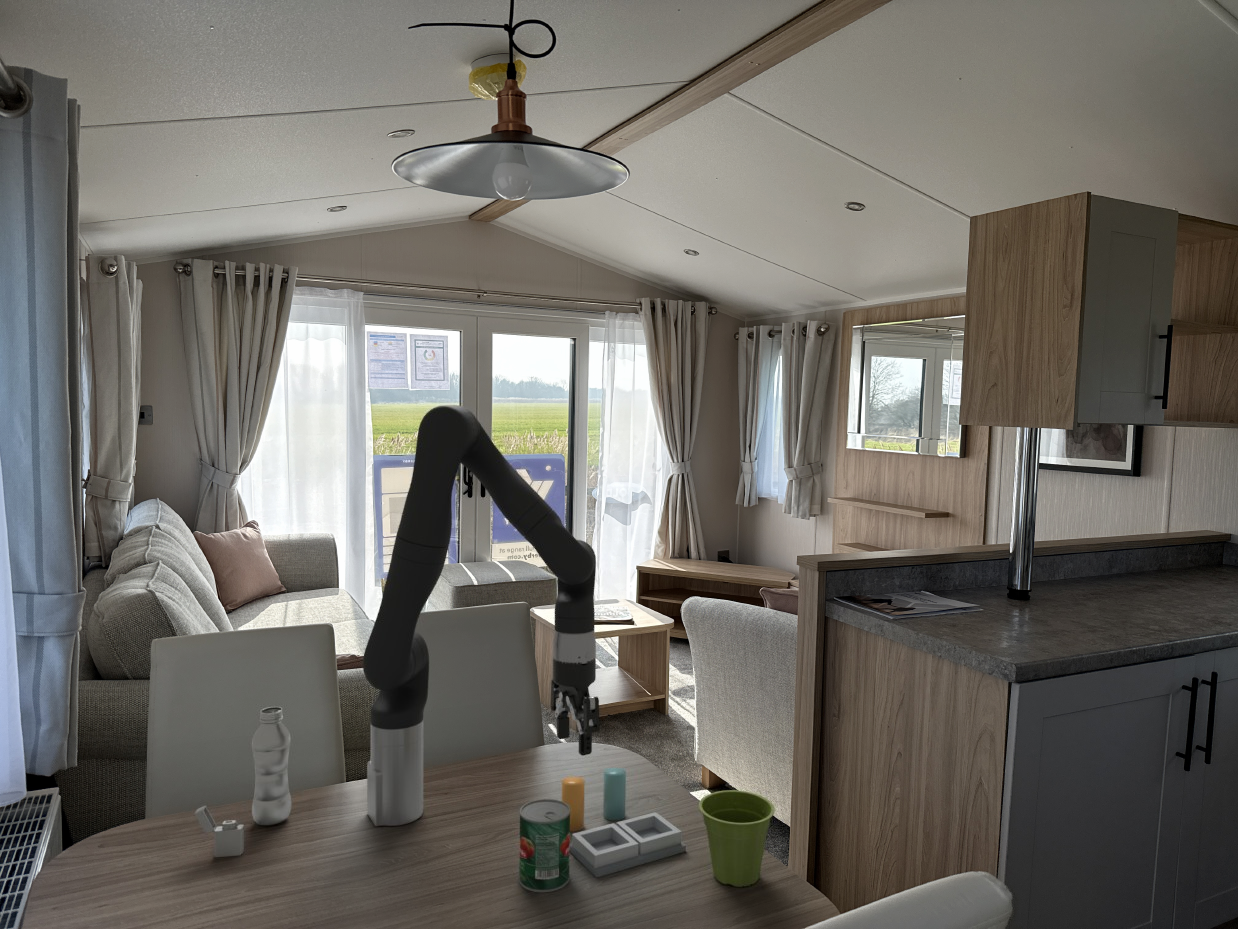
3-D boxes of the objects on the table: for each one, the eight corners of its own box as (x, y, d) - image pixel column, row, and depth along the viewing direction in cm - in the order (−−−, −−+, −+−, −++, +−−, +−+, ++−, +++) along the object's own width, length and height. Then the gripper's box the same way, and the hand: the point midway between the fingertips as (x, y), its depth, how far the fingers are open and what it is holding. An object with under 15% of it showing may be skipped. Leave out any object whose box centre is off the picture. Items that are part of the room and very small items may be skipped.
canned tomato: (509, 876, 130) (510, 807, 130) (551, 860, 135) (552, 794, 134) (536, 899, 124) (536, 826, 123) (579, 882, 129) (580, 812, 128)
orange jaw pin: (567, 833, 144) (568, 788, 144) (557, 823, 148) (558, 779, 147) (588, 828, 146) (588, 783, 146) (577, 818, 150) (578, 775, 149)
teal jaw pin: (610, 822, 148) (610, 778, 148) (599, 813, 152) (599, 770, 152) (629, 817, 150) (629, 774, 150) (618, 808, 154) (618, 766, 154)
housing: (596, 877, 130) (596, 859, 130) (567, 849, 139) (568, 831, 138) (685, 851, 138) (686, 833, 138) (653, 826, 147) (653, 809, 147)
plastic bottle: (298, 813, 150) (298, 704, 149) (279, 831, 143) (279, 717, 142) (264, 811, 151) (264, 703, 150) (244, 829, 144) (243, 715, 143)
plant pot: (728, 849, 139) (729, 783, 139) (788, 876, 131) (789, 806, 131) (682, 874, 131) (683, 805, 131) (742, 906, 123) (744, 831, 122)
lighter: (244, 850, 137) (243, 802, 137) (241, 855, 135) (241, 807, 135) (197, 853, 136) (197, 805, 135) (194, 858, 134) (194, 810, 134)
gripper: (537, 648, 150) (537, 737, 150) (573, 668, 138) (573, 764, 138) (574, 643, 154) (574, 729, 154) (613, 662, 141) (612, 755, 142)
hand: (573, 746), depth 146 cm, fingers open, 8 cm apart
